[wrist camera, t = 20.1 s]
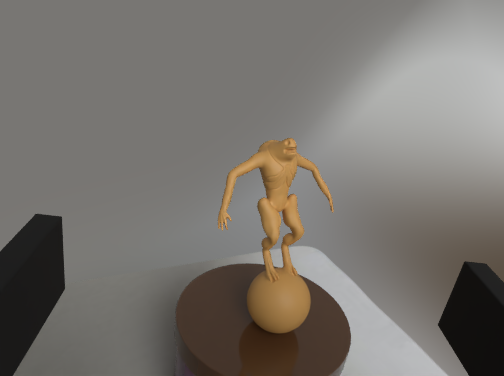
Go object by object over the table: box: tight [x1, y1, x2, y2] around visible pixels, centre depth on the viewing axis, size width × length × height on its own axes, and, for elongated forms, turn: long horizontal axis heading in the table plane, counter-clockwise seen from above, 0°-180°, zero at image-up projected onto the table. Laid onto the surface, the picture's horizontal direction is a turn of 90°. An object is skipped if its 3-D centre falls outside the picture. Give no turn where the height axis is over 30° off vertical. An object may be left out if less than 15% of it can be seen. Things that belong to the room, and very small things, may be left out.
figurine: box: [218, 138, 334, 333], centre depth 25 cm, size 8×6×12 cm
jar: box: [174, 264, 351, 376], centre depth 29 cm, size 12×12×8 cm
